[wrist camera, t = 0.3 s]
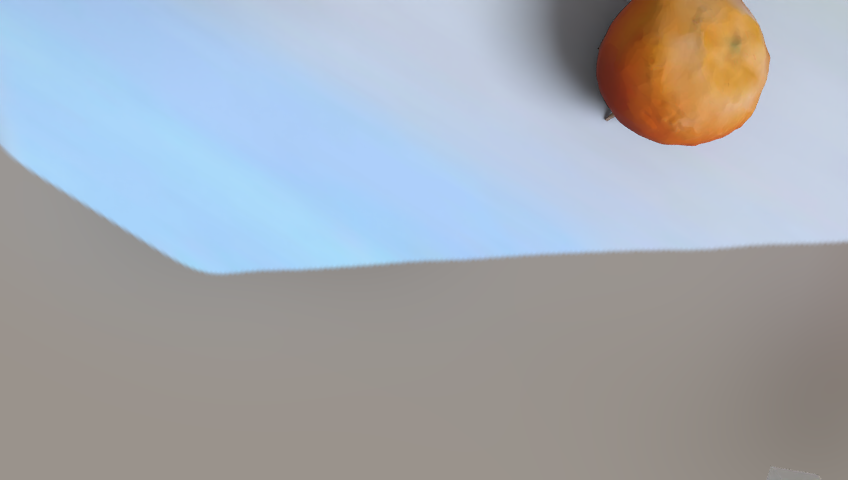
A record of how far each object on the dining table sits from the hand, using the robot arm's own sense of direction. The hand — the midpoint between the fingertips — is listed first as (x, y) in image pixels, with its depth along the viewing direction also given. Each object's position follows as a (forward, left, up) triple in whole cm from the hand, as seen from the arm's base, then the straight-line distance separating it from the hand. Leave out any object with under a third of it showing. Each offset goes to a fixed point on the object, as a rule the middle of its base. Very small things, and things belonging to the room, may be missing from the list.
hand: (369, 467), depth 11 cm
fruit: (-9, +11, -27) cm, 31 cm away
